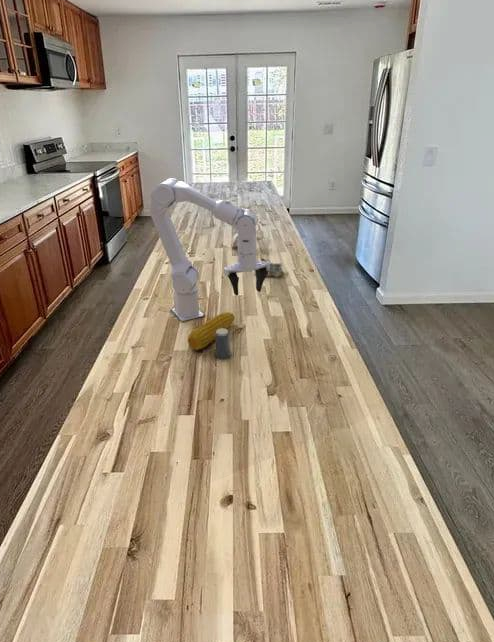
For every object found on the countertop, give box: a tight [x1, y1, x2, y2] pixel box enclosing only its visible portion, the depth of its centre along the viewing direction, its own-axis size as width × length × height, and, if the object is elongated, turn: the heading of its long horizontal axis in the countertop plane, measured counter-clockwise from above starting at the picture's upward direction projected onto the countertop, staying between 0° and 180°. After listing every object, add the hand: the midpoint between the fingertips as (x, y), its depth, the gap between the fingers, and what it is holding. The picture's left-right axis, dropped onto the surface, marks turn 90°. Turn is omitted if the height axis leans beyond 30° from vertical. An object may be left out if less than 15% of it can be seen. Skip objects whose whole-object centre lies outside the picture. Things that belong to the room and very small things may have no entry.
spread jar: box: [230, 232, 238, 249], centre depth 202 cm, size 12×11×12 cm
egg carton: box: [266, 262, 283, 278], centre depth 176 cm, size 11×8×4 cm
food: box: [187, 311, 235, 351], centre depth 131 cm, size 21×6×6 cm, turn 149°
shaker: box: [214, 328, 231, 360], centre depth 121 cm, size 4×4×8 cm
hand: (247, 292), depth 138 cm, fingers open, 7 cm apart
